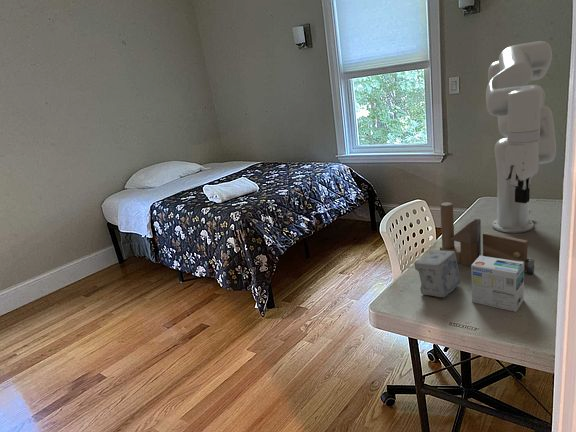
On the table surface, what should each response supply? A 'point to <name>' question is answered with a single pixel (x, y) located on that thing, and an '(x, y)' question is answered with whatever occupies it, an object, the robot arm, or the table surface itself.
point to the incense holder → (438, 273)
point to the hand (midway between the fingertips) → (521, 201)
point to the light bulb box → (498, 282)
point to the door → (505, 248)
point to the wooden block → (458, 236)
